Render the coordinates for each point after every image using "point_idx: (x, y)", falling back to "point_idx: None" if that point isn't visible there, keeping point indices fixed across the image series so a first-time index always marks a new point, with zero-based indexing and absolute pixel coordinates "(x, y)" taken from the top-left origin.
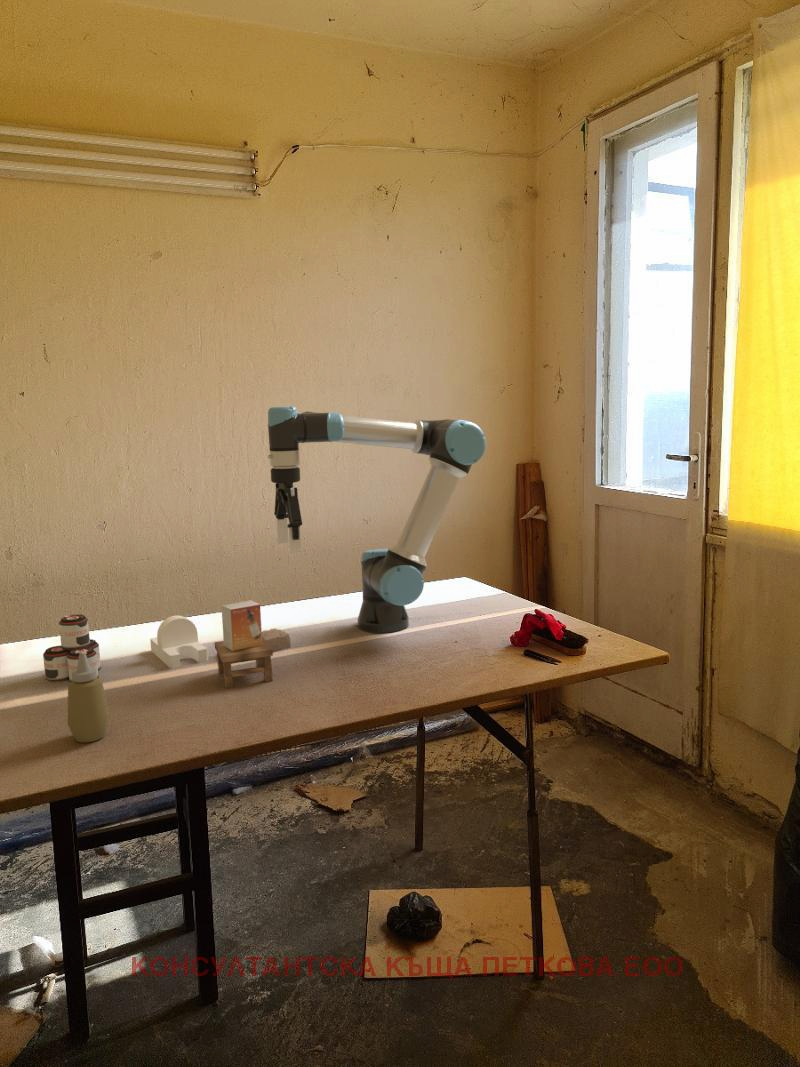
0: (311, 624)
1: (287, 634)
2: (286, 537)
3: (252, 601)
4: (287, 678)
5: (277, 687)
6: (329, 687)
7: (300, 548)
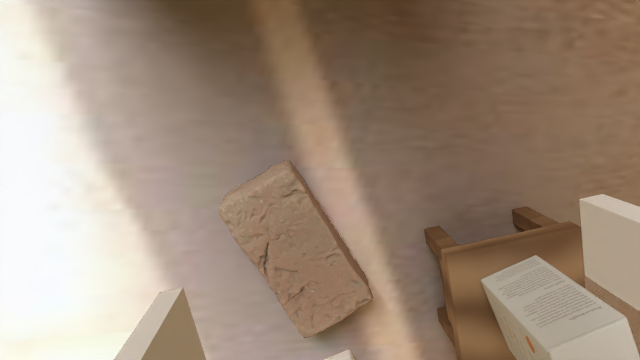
0: (69, 90)
1: (291, 174)
2: (174, 326)
3: (577, 345)
4: (521, 172)
5: (570, 195)
6: (613, 77)
7: (622, 205)
